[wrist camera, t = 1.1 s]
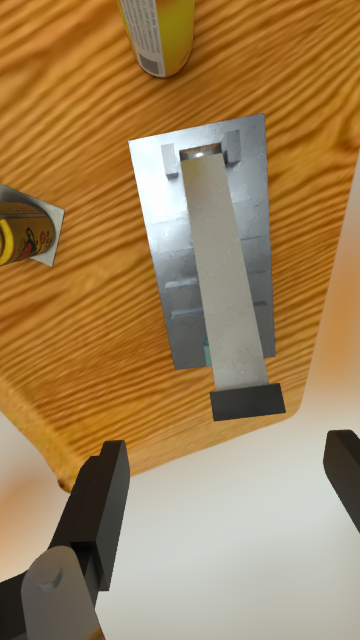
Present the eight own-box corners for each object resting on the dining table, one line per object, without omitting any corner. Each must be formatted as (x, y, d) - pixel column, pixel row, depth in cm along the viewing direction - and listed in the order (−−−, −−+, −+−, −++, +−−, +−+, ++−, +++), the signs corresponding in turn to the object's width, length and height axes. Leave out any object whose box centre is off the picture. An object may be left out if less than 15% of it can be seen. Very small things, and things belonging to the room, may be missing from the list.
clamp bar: (224, 150, 27) (225, 128, 24) (277, 409, 21) (285, 412, 19) (175, 160, 27) (171, 139, 25) (213, 417, 21) (214, 421, 19)
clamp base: (259, 119, 29) (277, 96, 23) (271, 349, 39) (285, 372, 33) (131, 145, 30) (119, 129, 24) (175, 362, 40) (174, 387, 34)
